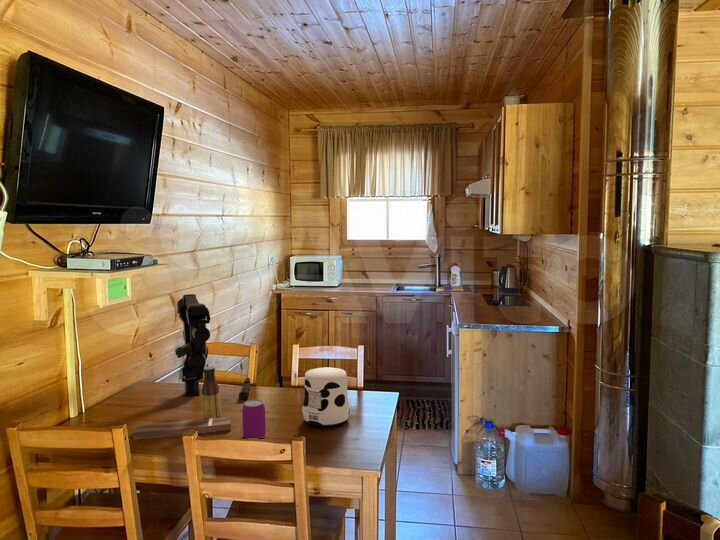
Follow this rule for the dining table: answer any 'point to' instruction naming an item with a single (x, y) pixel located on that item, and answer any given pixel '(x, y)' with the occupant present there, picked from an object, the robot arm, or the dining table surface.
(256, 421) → the beverage can
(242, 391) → the hand tool
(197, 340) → the robot arm
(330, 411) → the milk container
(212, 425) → the walnut board
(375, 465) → the dining table surface
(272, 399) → the dining table surface
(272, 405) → the dining table surface
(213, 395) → the sauce bottle
